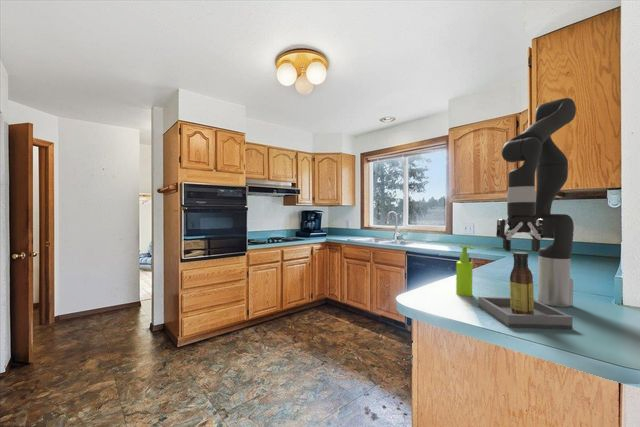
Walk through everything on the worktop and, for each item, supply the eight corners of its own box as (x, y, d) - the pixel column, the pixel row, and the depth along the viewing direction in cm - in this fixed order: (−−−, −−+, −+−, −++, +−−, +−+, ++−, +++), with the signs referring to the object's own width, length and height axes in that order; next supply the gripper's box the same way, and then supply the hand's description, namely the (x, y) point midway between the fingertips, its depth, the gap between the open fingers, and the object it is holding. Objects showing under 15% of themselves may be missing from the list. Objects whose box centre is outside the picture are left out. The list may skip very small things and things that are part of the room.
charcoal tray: (530, 307, 101) (530, 298, 101) (572, 328, 83) (572, 317, 83) (478, 306, 102) (478, 296, 102) (508, 327, 84) (508, 315, 84)
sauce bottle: (526, 310, 95) (526, 251, 95) (538, 317, 89) (539, 254, 89) (505, 309, 96) (506, 250, 95) (516, 316, 89) (517, 253, 89)
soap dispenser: (468, 297, 112) (468, 247, 112) (453, 293, 118) (453, 245, 118) (477, 295, 115) (478, 246, 115) (462, 291, 121) (462, 244, 121)
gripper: (536, 201, 95) (536, 249, 95) (492, 201, 96) (492, 249, 96) (553, 200, 88) (552, 253, 88) (505, 201, 88) (505, 252, 89)
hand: (521, 251), depth 92 cm, fingers open, 8 cm apart
